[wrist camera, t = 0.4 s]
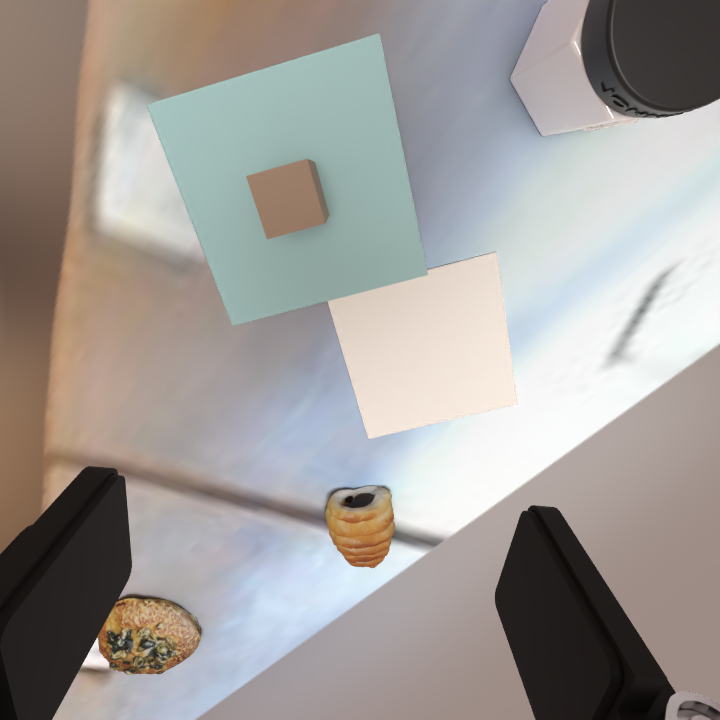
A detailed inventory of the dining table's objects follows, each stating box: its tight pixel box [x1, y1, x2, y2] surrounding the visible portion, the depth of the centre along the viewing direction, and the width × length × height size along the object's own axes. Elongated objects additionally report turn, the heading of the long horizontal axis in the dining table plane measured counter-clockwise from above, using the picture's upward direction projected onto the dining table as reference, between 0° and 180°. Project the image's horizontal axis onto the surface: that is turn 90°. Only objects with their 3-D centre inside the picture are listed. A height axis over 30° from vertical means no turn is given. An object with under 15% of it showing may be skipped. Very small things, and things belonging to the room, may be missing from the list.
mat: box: [328, 252, 518, 439], centre depth 38 cm, size 14×14×1 cm
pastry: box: [325, 486, 395, 568], centre depth 44 cm, size 9×7×4 cm
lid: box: [147, 33, 428, 326], centre depth 25 cm, size 13×13×8 cm
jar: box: [510, 0, 720, 136], centre depth 25 cm, size 9×8×12 cm
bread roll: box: [97, 598, 201, 675], centre depth 49 cm, size 11×11×5 cm
